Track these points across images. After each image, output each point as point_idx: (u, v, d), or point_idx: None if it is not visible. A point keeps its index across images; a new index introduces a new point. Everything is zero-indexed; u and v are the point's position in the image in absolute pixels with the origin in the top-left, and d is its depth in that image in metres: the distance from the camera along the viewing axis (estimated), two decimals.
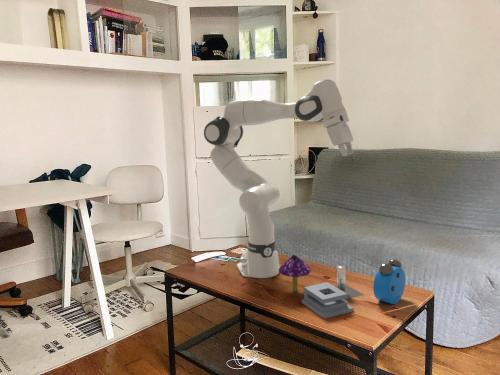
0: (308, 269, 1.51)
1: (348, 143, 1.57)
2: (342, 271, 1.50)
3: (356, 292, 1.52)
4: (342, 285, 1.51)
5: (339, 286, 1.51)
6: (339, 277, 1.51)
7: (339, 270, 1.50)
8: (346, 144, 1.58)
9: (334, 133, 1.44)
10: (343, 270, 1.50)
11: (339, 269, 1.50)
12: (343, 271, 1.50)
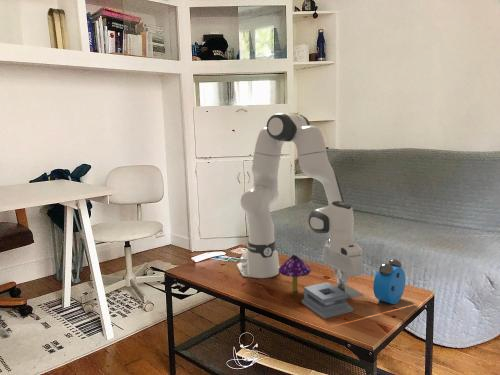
0: (308, 269, 1.51)
1: None
2: None
3: (356, 292, 1.52)
4: (342, 285, 1.51)
5: (339, 286, 1.51)
6: (339, 277, 1.51)
7: (339, 270, 1.50)
8: (336, 268, 1.54)
9: (358, 265, 1.42)
10: None
11: None
12: None
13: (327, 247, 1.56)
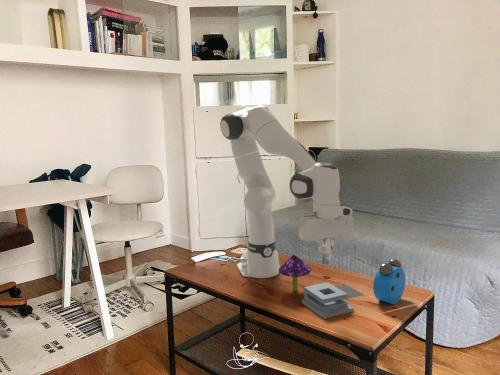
0: (308, 269, 1.51)
1: None
2: None
3: (356, 292, 1.52)
4: None
5: (330, 256, 1.37)
6: (330, 246, 1.37)
7: (330, 238, 1.36)
8: None
9: None
10: None
11: None
12: None
13: (313, 220, 1.32)
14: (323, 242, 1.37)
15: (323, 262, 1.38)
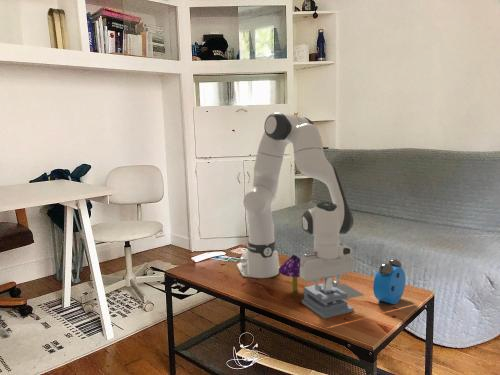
0: None
1: None
2: None
3: (356, 292, 1.52)
4: None
5: None
6: (331, 287, 1.39)
7: (331, 280, 1.38)
8: None
9: None
10: None
11: (331, 278, 1.38)
12: None
13: (313, 261, 1.34)
14: (324, 283, 1.39)
15: None
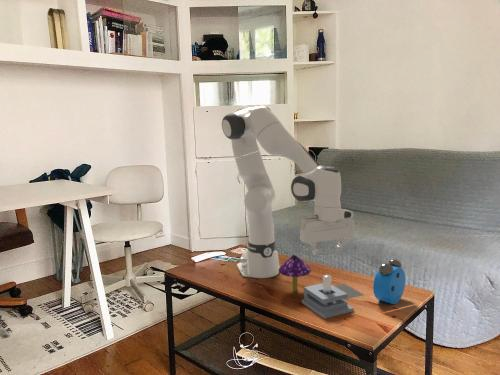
0: (308, 269, 1.51)
1: None
2: None
3: (356, 292, 1.52)
4: None
5: None
6: (330, 287, 1.39)
7: (330, 279, 1.38)
8: None
9: None
10: None
11: (330, 278, 1.38)
12: None
13: (314, 223, 1.33)
14: (324, 283, 1.39)
15: None
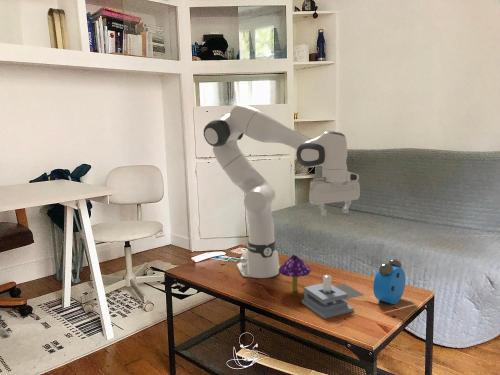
0: (308, 269, 1.51)
1: None
2: None
3: (356, 292, 1.52)
4: None
5: None
6: (330, 287, 1.39)
7: (331, 280, 1.38)
8: None
9: None
10: None
11: (331, 278, 1.38)
12: None
13: (322, 184, 1.41)
14: (324, 283, 1.39)
15: None
